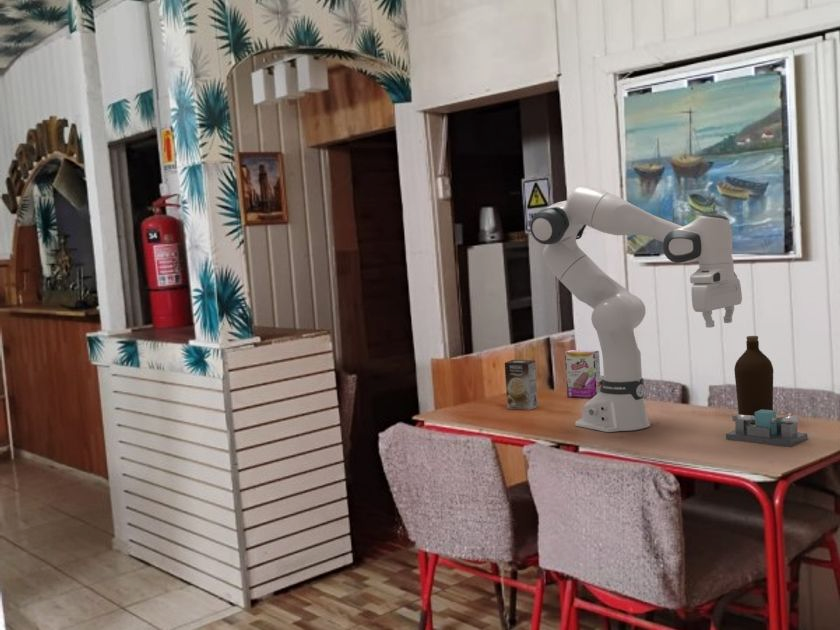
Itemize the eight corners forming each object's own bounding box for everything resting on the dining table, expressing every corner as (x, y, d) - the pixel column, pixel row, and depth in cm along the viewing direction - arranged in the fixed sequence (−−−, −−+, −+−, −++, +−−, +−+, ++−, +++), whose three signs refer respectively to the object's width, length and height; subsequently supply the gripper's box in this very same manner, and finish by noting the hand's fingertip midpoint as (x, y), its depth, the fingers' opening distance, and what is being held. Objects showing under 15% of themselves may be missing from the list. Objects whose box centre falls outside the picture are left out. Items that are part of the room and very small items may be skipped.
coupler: (753, 434, 253) (752, 412, 252) (760, 431, 256) (759, 409, 255) (771, 436, 249) (770, 413, 249) (778, 432, 252) (777, 410, 251)
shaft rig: (725, 439, 256) (724, 412, 255) (744, 431, 262) (742, 405, 262) (790, 446, 243) (789, 418, 242) (807, 438, 249) (806, 411, 249)
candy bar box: (566, 398, 331) (564, 351, 330) (572, 395, 336) (569, 349, 334) (597, 398, 326) (594, 352, 324) (602, 396, 330) (599, 349, 328)
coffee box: (506, 409, 320) (503, 362, 318) (514, 405, 325) (511, 359, 324) (530, 410, 315) (527, 362, 314) (538, 406, 320) (535, 359, 319)
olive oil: (759, 427, 266) (756, 339, 264) (729, 422, 275) (725, 337, 273) (783, 420, 272) (779, 335, 270) (752, 416, 281) (748, 333, 279)
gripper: (725, 270, 262) (727, 320, 264) (686, 277, 249) (688, 329, 250) (746, 270, 258) (748, 320, 259) (707, 277, 244) (710, 330, 245)
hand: (719, 325), depth 254 cm, fingers open, 8 cm apart
